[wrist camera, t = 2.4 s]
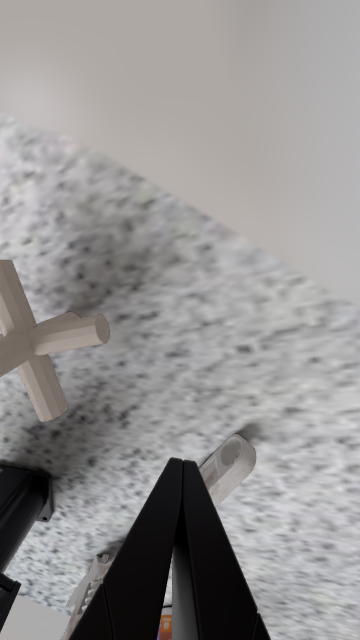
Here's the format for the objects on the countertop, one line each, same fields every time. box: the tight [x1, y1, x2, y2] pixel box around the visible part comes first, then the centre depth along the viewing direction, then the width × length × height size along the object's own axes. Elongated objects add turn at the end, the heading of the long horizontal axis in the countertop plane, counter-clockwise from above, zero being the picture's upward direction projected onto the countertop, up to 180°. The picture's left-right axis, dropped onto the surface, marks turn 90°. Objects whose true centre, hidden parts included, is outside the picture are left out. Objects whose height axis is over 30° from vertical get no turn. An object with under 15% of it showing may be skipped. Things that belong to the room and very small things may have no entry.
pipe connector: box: [0, 260, 110, 422], centre depth 14 cm, size 10×10×10 cm
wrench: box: [60, 434, 256, 640], centre depth 21 cm, size 8×2×30 cm
